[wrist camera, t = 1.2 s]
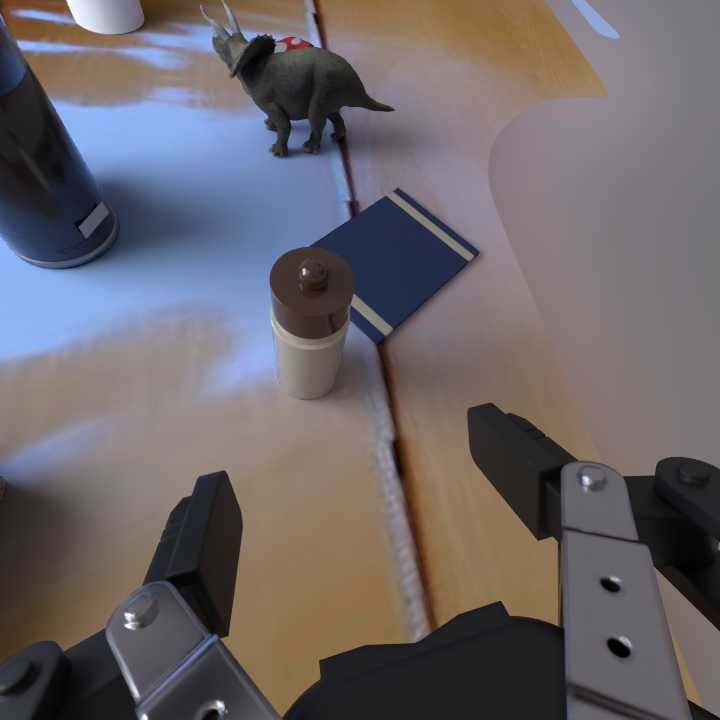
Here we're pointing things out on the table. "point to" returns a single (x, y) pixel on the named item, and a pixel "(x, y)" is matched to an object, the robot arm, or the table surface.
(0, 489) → the geological specimen
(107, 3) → the cylinder with rectangular tab
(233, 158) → the table surface
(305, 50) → the toy dinosaur
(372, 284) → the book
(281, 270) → the pepper mill
